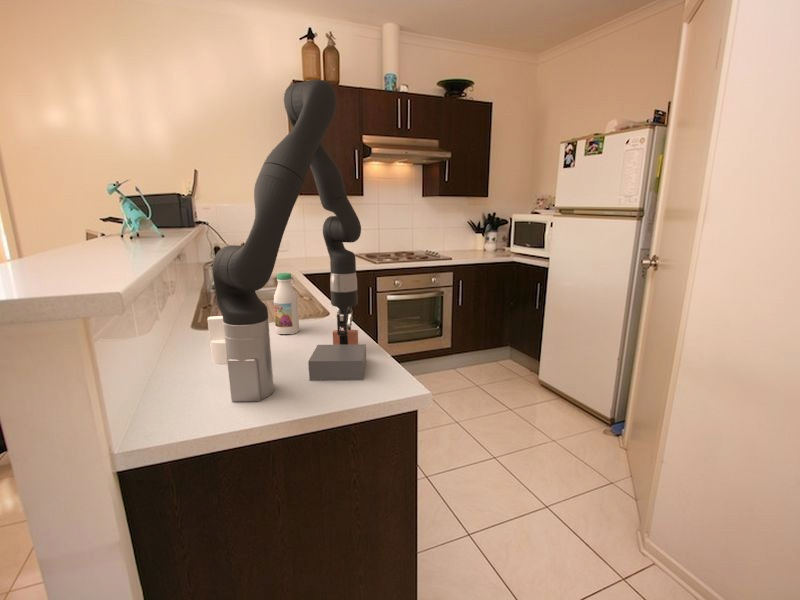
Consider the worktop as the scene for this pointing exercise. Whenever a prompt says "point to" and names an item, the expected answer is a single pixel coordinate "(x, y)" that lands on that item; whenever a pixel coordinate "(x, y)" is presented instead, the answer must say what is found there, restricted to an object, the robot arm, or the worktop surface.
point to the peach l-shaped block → (351, 337)
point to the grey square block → (338, 362)
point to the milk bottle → (285, 306)
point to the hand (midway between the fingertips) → (345, 343)
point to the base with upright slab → (217, 339)
